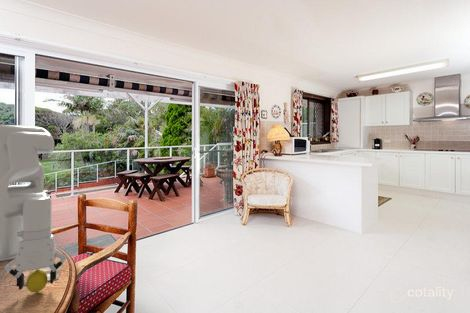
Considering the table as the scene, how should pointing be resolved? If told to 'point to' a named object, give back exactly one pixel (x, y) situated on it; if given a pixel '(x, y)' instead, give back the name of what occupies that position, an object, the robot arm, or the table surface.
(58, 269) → the label board
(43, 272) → the lemon
